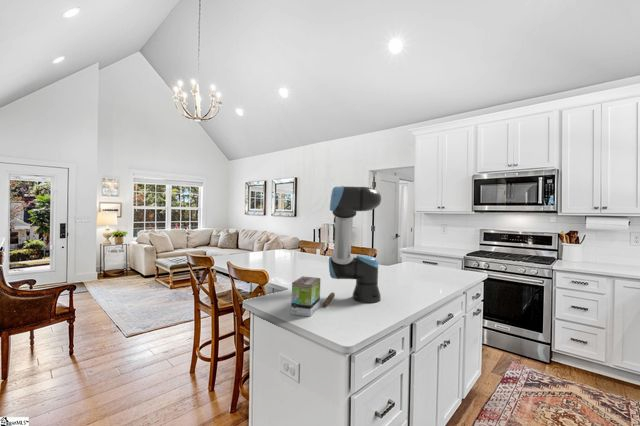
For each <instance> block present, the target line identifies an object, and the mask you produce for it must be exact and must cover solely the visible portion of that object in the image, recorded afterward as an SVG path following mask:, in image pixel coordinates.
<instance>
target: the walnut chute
mask: <svg viewBox="0 0 640 426" xmlns="http://www.w3.org/2000/svg"><path fill="white" fill-rule="evenodd" d="M335 294H336V293H335V292H330V293H329V294H328V296H327V297H326V298H325V299H324V301H323V302H322V308H326V309H327V308H328V306H329V305H330V304H331V302H332V301H333V299H334V298H335V296H336V295H335Z"/></svg>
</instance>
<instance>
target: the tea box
mask: <svg viewBox="0 0 640 426" xmlns="http://www.w3.org/2000/svg"><path fill="white" fill-rule="evenodd" d="M320 299H321V278H320V277H316V276H315V277H314V276H313V277H312V276H304V275H303V276H301V277H299V278H298V279H296V280H294V281H293V282H292V283H291V300H290V301H291V305H290V314H291V315H296V316H304V317H311V316H312V315H313V314H314V313H315V312H316V311H317V310H318V309H319V308H320V301H321V300H320Z"/></svg>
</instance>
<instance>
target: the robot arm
mask: <svg viewBox="0 0 640 426" xmlns="http://www.w3.org/2000/svg"><path fill="white" fill-rule="evenodd" d="M381 202H382V195H381V193H380V192H379V191H378V190H377V189H374V188H372V187H368V186H344V185H341V186H334V187H333V188H332V190H331V194H330V203H329V211H332V215H333V217H334V218H333V224H332V243H334V244H333V252H332V254H331V256H329V257H328V271H329V276H330V278H331V279H336V280H355V286H354V289H353V292H352V299H353V300H354V301H356V302H360V303H365V304H366V303H369V304H371V303H372V304H373V303H378V302H380V301H382V300H381V299H382V297H381V292H380V289H379V283H378V282H379V280H378V279H379V260H378V258H376V257H373V256H370V255H365V254H357V255H356V257H354V255H353V254H352V253H351V252H352V240H353V238H352V235H353V225H354V224H353V223H354V222H353V219H354V218H355V217H356V215H357V212H369V211H372V210H374V209H376V208H378V207H379V206H380V205H381Z"/></svg>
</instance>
